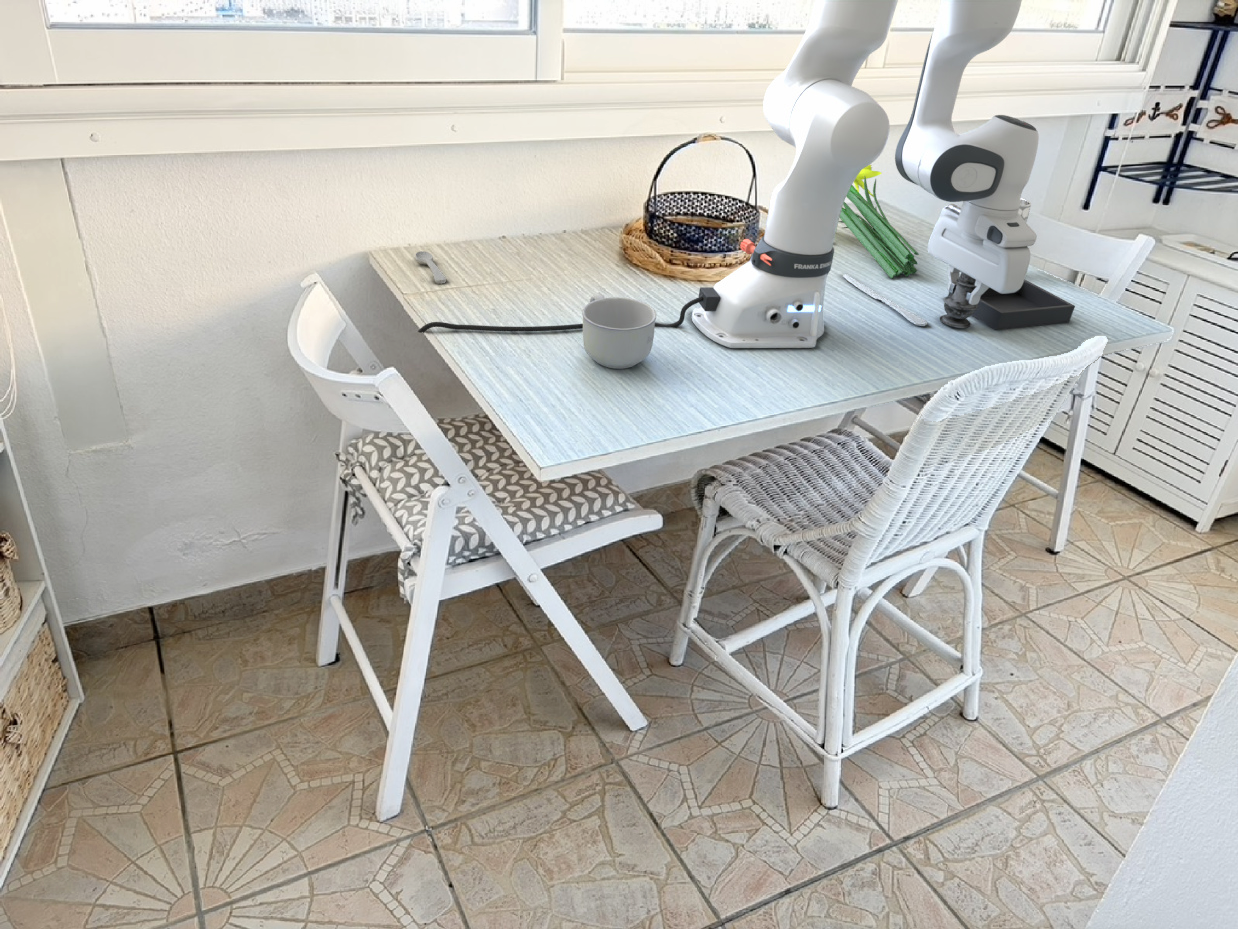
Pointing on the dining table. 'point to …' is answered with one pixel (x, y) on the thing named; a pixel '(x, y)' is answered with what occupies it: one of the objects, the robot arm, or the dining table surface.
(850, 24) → the robot arm
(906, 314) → the butter knife
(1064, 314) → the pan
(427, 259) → the spoon
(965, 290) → the salt shaker
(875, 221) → the daffodil flowers
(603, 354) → the teacup
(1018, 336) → the dining table surface
